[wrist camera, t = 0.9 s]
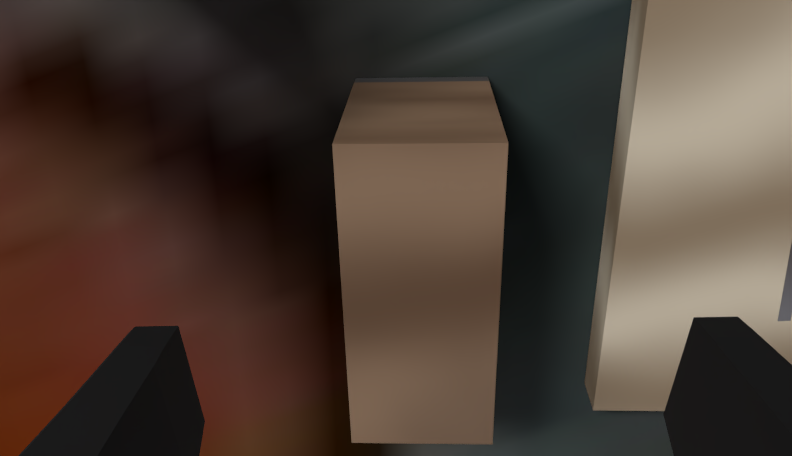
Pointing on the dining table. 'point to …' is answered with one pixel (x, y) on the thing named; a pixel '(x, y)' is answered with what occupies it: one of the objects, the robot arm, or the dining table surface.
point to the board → (694, 192)
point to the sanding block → (421, 256)
